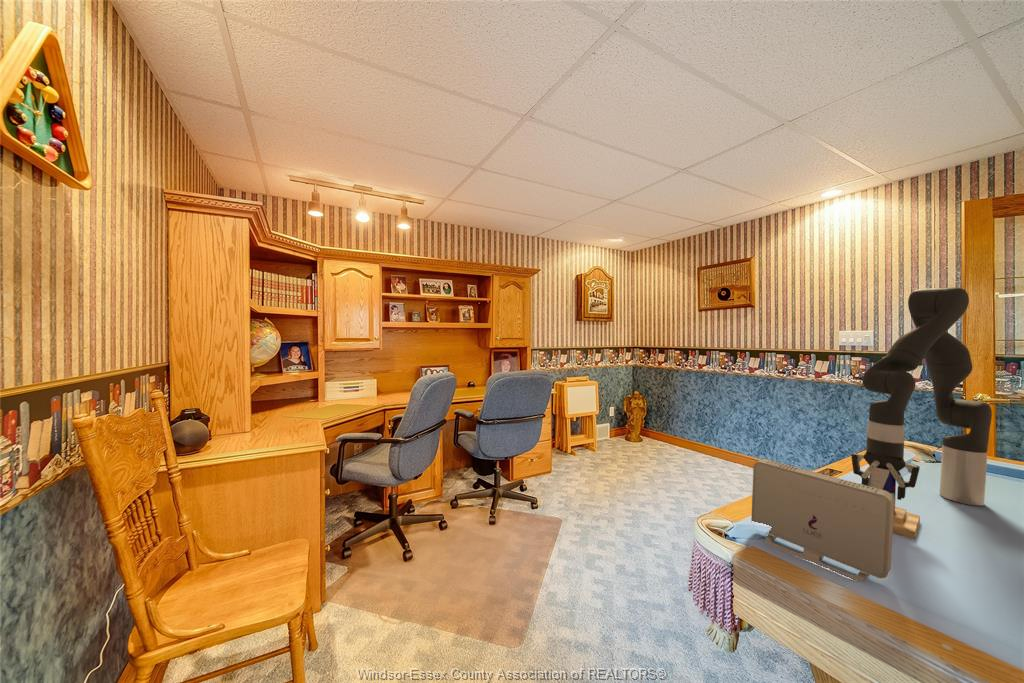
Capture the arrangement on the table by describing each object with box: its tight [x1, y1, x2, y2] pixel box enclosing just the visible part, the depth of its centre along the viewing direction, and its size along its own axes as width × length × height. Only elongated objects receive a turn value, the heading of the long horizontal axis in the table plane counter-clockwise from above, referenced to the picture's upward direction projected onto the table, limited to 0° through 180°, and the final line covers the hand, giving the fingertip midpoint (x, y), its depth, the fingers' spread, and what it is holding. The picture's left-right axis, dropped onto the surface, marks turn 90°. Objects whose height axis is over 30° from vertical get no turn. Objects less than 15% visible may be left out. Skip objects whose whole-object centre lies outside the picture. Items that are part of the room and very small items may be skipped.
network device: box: [750, 458, 894, 582], centre depth 87 cm, size 26×9×20 cm, turn 36°
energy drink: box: [868, 467, 897, 511], centre depth 104 cm, size 5×5×12 cm
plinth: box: [893, 506, 921, 540], centre depth 104 cm, size 14×14×4 cm
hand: (882, 494), depth 104 cm, fingers open, 6 cm apart
